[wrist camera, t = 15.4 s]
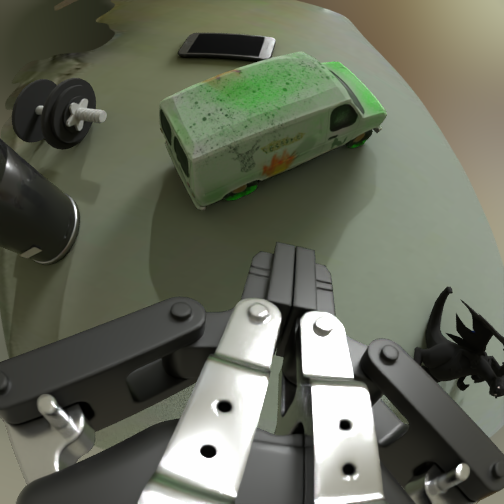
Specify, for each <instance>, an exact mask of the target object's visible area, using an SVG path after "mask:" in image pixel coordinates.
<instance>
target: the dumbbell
mask: <svg viewBox="0 0 504 504" xmlns="http://www.w3.org/2000/svg"><path fill="white" fill-rule="evenodd" d="M106 116H107V115H106V112H105V111H104V110H96V98H95V94H94V91H93V88H92V87H91V85H90V84H89V83H88V82H86V81H85V80H82V79H80V78H71V79H68V80H65V81H63V82H61V83H60V84H58V85H56V84H55V83H54V82H52V81H50V80H47V79H40V80H36V81H34V82H32V83H30V84H29V85H27V86H26V87H25V88H24V89H23V90H22V91H21V93H20V94H19V96H18V97H17V99H16V101H15V104H14V107H13V111H12V125H13V129H14V131H15V133H16V134H17V136H18V137H19V138H20V139H22V140H23V141H25V142H31V143H32V142H37V141H40V140H42V139H44V138H45V140H46V141H47V143H49V144H50V145H51V146H52V147H54V148H57V149H68V148H71V147H73V146H75V145H76V144H78V143H79V142H80V141H81V140H82V139H83V138H84V137H85V135H86V134H87V132H88V131H89V129H90V127H91V124H92V122H97V123H102V122H104V121H105V119H106Z"/></svg>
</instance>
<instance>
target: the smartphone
mask: <svg viewBox="0 0 504 504" xmlns="http://www.w3.org/2000/svg"><path fill="white" fill-rule="evenodd" d="M275 43H276V40H275V39H274V38H272V37H266V36H256V35H245V34H228V33H193V34H191V35H190V36H189V37H188V38H187V39H186V41H185V42H184V44H183V45H182V47H181V48H180V50H179V51H178V55H179V56H181V57H216V58H232V59H244V60H254V61H262V60H266V59H269V58H271V56H272V53H273V49H274V46H275Z"/></svg>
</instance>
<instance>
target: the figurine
mask: <svg viewBox="0 0 504 504" xmlns="http://www.w3.org/2000/svg"><path fill="white" fill-rule="evenodd" d="M449 293H453V292H452V288H451V287H446V288H445V290H444V291H443V292H442V293H441V294H440V295H439V297H438V298H437V300H436V302H435V304H434V307H433V309H432V312H431V315H430V318H429V322H428V327H427V332H426V343H427V349H421V348H418V347H416V348H415V352H414V360H415V361H416V362H417V363H418V364H419V365H420V366H421V363H422V361H423V363H424V364H425V366H426V367H425V366H421V367H422V368H423V369H424V370H425V371H426V372H427V373H428V374H429V375H430V376H431V377H432V378H433V379H434V380H435V382H436V383H438V382H440V381H450V380H453V379H457V378H459V379H458V382H457V386H458V388H459V389H460V390H462V391H464V390H465V389H466V388H467V387H469V385H470V384H469V385H465V384H464V382H463V381H464V379H465V377H466V376H469V375H471V378H472V379H473V380H475V381H474V383H479V382H483V381H486V382H487V383H488V385H489V386H490V391H489V393H490V394H491V395H492V396H495V398H497V397H500V396H504V362H503V363H502V364H503V365H502V366H500V365H499V364H498V362H497V361H496V360H495V358H494V357H493V356H487V353H486V352H484V351H485V350H486V345H487V344H488V342H489V340H490V339H491V337H492V336H493V335H494V336H495V337H496V338H497V339H498V340H499V341H500V342H501V343H502V344H503V345H504V337H503V336H501V335H500V334H499V333H498V332H497V331H496V330H495V329H494V328H493V327H492V326H491V325H490V324H489V323H488V322H487V321H486V320H485V319H484V318H483V317H482V316H481V315H480V314H479V315H478V314H477V313H476V312H475V311H474V310H473V309H471V308H470V307H469V306H468V305H467V304H466V303H465V302H463V301H462V300H461V299H460V300H461V301H462V302H463V303H464V305H465V306H466V307H467V308H468V309H469V311H470V313H471V314H472V319H473V330H474V331H471V330H470V329H468V328H467V327H465V325H464V324H463V323H462V321H461V320H460V318H459V317H458V315H457V314H456V329H457V332H458V333H459V334H460V336H461V337H462V338H463V339H462V338H460V337H458V336H455V335H452V334H448V333H446V334H447V335H448V336H449V337H450V338H451V339H452V340H454V341H455V342H456V343H457V344H456V343H453V342H451V341H449V340H447V339H446V338H445V337H444V336H443V335H442V333H441V331H440V323H441V316H442V311H443V307H444V303H445V301H446V299H447V297H448V295H449ZM503 350H504V349H503Z"/></svg>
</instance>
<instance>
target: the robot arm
mask: <svg viewBox="0 0 504 504" xmlns="http://www.w3.org/2000/svg"><path fill="white" fill-rule="evenodd" d="M79 223H80V215H79V209H78V206H77V204H76V202H75V201H74V200H73V199H72V198H71V197H70V196H68V195H67V194H65V193H63V192H62V191H61V190H60V189H58V188H57V187H56V186H55V185H54V184H53V183H51V182H50V181H49V180H48V179H46V178H45V177H44V176H43V175H42V174H40V173H39V172H38V171H37V170H36V169H34V168H33V167H32V166H31V165H30V164H29V163H27V162H26V161H25V160H24V159H23V158H22V157H20V156H19V155H18V154H17V153H16V152H15V151H14V150H13V149H11V148H10V147H9V146H8V145H7V144H6V143H5V142H3V141H2V140H1V139H0V246H1V247H3V248H5V249H8V250H10V251H13V252H15V253H18V254H20V255H19V256H22V257H24V258H30V259H33V260H34V261H36V262H38V263H41V264H45V265H48V264H53V263H55V262H57V261H59V260H60V259H62V258H63V257H64V256H65V255H66V254H67V253H68V251H69V250H70V249H71V247H72V245H73V243H74V241H75V239H76V237H77V234H78V230H79ZM276 348H277V352H276V356H281V357H284V358H283V365H282V368H281V370H280V373H279V383H278V413H277V425H276V429H275V432H274V434H272V433H269V432H267V431H264V430H262V429H259V428H257V424H258V420H259V416H260V412H261V409H262V405H263V401H264V397H265V393H266V389H267V385H268V381H269V377H270V371H269V370H270V366H271V362H272V358H273V355H274V354H275V351H276ZM194 383H196V384H195V387H194V389H193V391H192V393H191V395H190V398H189V400H188V402H187V404H186V406H185V409H184V411H183V413H182V415H181V417H180V419H174V420H168V421H164V422H161V423H158V424H155V425H153V426H150V427H149V428H147V429H145V430H143V431H141V432H139V433H137V434H135V435H134V436H132V437H130V438H128V439H126V440H124V441H122V442H120V443H118V444H116V445H114V446H112V447H110V448H108V449H106V450H104V451H102V452H100V453H98V454H96V455H93V456H91V457H89V458H87V459H85V460H82V461H80V462H78V463H76V462H77V461H78V459H79V458H80V457H82V456H83V455H85V454H86V453H88V452H89V451H90V450H91V449H92V447H93V446H94V443H95V432H96V431H98V430H101V429H103V428H105V427H108V426H110V425H112V424H114V423H117V422H119V421H121V420H123V419H125V418H127V417H129V416H132V415H134V414H136V413H138V412H140V411H142V410H144V409H146V408H148V407H150V406H152V405H154V404H156V403H158V402H160V401H162V400H164V399H166V398H168V397H170V396H172V395H174V394H176V393H177V392H179V391H181V390H183V389H185V388H187V387H189V386H190V385H192V384H194ZM383 395H385V396H386V397H387V398H388V399H389V400H390V401H391V403H392V404H393V405H394V406H395V407H396V408H397V409H398V410H399V411H400V412H401V413H402V415H403V416H404V417H405V418H406V419H407V421H408V423H409V425H407V424H404V423H403V422H402V421H401V420H400V419H399V418H398V417H397V416H396V415H395V414H394V413H393V412H392V410H391V409H390V408H389V407H388V406H387V405H386V404H385V403H384V402H383V400H382V399H381V397H382V396H383ZM0 418H1V419H2V420H3V422H4V423H5V426H6V429H7V433H8V435H9V439H10V442H11V445H12V448H13V451H14V454H15V457H16V459H17V462H18V464H19V467H20V469H21V472H22V474H23V477H24V479H25V481H26V484H27V486H25V488H24V489H23V490H22V491H21V493H20V494H19V496H18V499H17V502H16V504H477V503H478V502H479V501H480V500H482V499H484V498H486V497H488V496H490V495H492V494H494V493H496V492H498V491H500V490H501V489H503V488H504V454H503V453H502V452H501V451H500V450H499V449H498V447H497V446H496V445H495V444H494V443H493V442H492V441H491V440H490V439H489V438H488V436H487V435H486V434H485V433H484V432H483V431H482V430H481V429H480V428H479V427H478V426H477V424H476V423H475V422H474V421H473V420H472V419H471V418H470V417H469V416H468V415H467V414H466V413H465V412H464V411H463V410H462V408H461V407H460V406H459V405H458V404H457V403H456V402H455V401H454V400H453V399H452V398H451V397H450V396H449V395H448V394H447V393H446V392H445V391H444V390H443V389H442V388H441V387H440V386H439V385H438V384H437V383H436V382H435V380H434V379H433V378H432V377H431V376H430V375H429V374H428V373H427V372H426V371H425V370H424V369H423V368H422V367H421V366H420V365H419V364H418V363H417V362H416V361H415V360H414V359H413V358H412V357H411V356H410V355H409V354H408V353H407V352H406V351H405V350H404V349H403V348H402V347H400V346H399V345H398V344H397V343H395V342H393V341H391V340H389V339H383V338H379V339H375V340H373V341H372V342H371V343H370V344H369V346H367V345H365V344H363V343H360V342H358V341H356V340H354V339H352V338H350V337H348V336H347V335H346V334H345V329H344V326H343V325H342V323H341V322H340V321H339V320H338V319H337V318H336V315H335V305H334V296H333V287H332V279H331V273H330V272H329V271H328V269H327V268H326V266H325V265H321V264H317V263H315V250H312V249H307V248H303V247H298V246H296V248H295V246H294V245H289V244H285V243H280V242H276V246H275V250H274V254H271V253H267V252H262V251H260V252H259V253H258V254H256V255H255V256H254V257H253V260H252V263H251V267H250V270H249V274H248V277H247V280H246V284H245V287H244V291H243V294H242V297H241V300H240V302H238V303H237V304H236V306H235V307H234V308H233V309H230V310H228V311H224V312H206V311H205V309H204V307H203V306H202V305H201V304H200V303H199V302H198V301H196V300H194V299H191V298H188V297H173V298H169V299H167V300H164V301H161V302H159V303H156V304H154V305H151V306H149V307H146V308H143V309H141V310H138V311H136V312H133V313H130V314H128V315H125V316H123V317H120V318H117V319H115V320H112V321H110V322H107V323H104V324H102V325H99V326H96V327H94V328H91V329H88V330H86V331H83V332H80V333H78V334H75V335H72V336H70V337H67V338H64V339H62V340H59V341H56V342H54V343H51V344H48V345H46V346H43V347H40V348H37V349H35V350H32V351H29V352H27V353H24V354H21V355H18V356H16V357H13V358H10V359H7V360H5V361H2V362H0ZM398 482H399V483H398ZM403 488H404V489H403Z"/></svg>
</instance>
